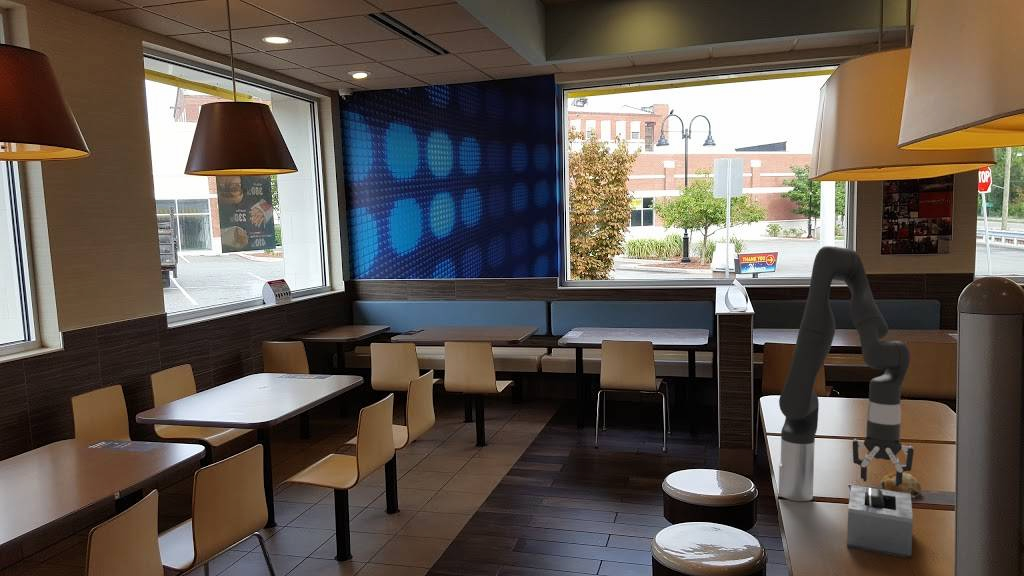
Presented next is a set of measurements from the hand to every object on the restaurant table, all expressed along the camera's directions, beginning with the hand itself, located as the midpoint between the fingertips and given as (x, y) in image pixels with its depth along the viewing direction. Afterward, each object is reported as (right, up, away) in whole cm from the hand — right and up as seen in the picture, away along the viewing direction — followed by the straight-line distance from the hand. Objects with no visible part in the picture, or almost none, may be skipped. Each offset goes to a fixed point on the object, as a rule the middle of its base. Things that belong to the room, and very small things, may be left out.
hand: (881, 482), depth 178 cm
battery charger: (0, -14, +1) cm, 14 cm away
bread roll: (+23, -12, +33) cm, 42 cm away
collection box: (0, -15, +1) cm, 15 cm away
